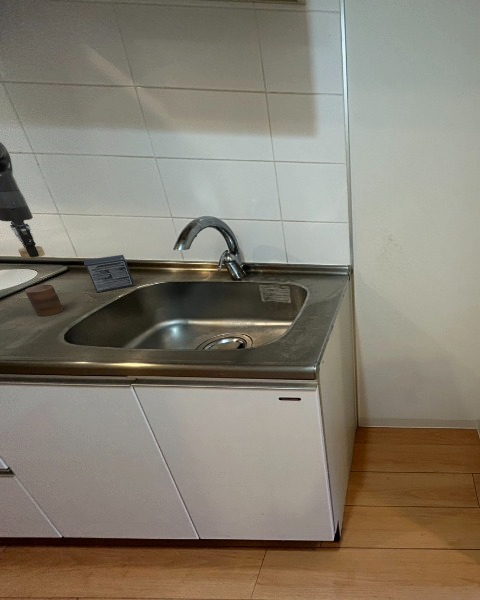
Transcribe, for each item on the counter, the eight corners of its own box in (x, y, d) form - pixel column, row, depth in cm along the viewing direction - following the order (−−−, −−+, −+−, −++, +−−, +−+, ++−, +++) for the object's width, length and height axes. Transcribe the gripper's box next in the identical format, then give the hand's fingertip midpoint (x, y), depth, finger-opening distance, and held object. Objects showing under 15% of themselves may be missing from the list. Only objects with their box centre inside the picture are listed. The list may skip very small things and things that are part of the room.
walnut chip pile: (30, 316, 90) (17, 292, 86) (47, 307, 95) (36, 284, 91) (53, 316, 91) (42, 292, 87) (69, 307, 96) (59, 284, 92)
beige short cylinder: (16, 258, 105) (12, 250, 103) (31, 252, 110) (28, 245, 108) (35, 258, 106) (32, 251, 104) (49, 253, 110) (46, 246, 109)
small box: (132, 280, 116) (123, 253, 111) (135, 286, 112) (126, 258, 107) (94, 287, 109) (83, 259, 104) (96, 293, 105) (84, 264, 100)
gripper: (-12, 202, 101) (13, 251, 108) (-6, 209, 94) (20, 261, 101) (23, 200, 106) (44, 247, 114) (31, 207, 99) (53, 257, 107)
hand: (32, 254), depth 107 cm, fingers closed on beige short cylinder, 5 cm apart
